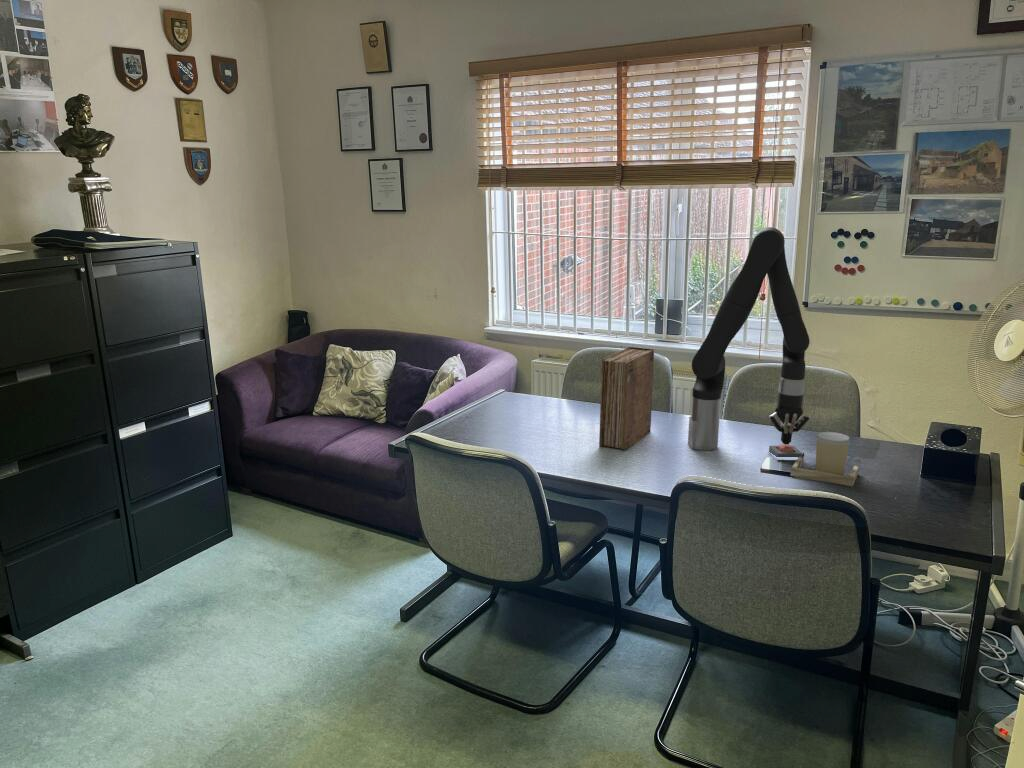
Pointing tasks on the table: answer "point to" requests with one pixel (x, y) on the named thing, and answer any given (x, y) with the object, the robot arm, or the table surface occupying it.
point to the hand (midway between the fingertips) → (785, 443)
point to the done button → (785, 448)
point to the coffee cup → (831, 452)
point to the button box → (777, 453)
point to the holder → (823, 474)
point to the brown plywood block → (626, 397)
